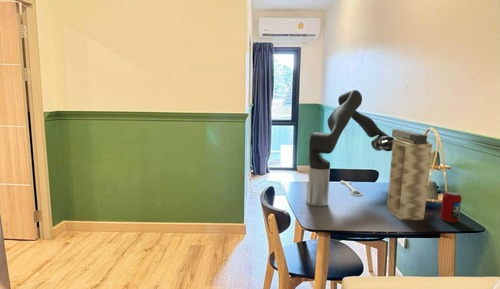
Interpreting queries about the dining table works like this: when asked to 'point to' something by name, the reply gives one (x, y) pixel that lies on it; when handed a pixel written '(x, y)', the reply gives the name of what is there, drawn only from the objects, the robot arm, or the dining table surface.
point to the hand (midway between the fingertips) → (393, 145)
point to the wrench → (351, 188)
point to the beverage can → (451, 206)
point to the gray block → (410, 136)
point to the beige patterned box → (408, 179)
